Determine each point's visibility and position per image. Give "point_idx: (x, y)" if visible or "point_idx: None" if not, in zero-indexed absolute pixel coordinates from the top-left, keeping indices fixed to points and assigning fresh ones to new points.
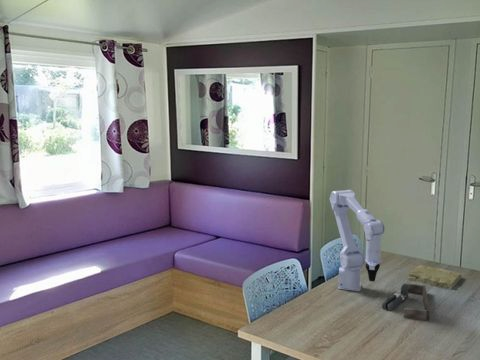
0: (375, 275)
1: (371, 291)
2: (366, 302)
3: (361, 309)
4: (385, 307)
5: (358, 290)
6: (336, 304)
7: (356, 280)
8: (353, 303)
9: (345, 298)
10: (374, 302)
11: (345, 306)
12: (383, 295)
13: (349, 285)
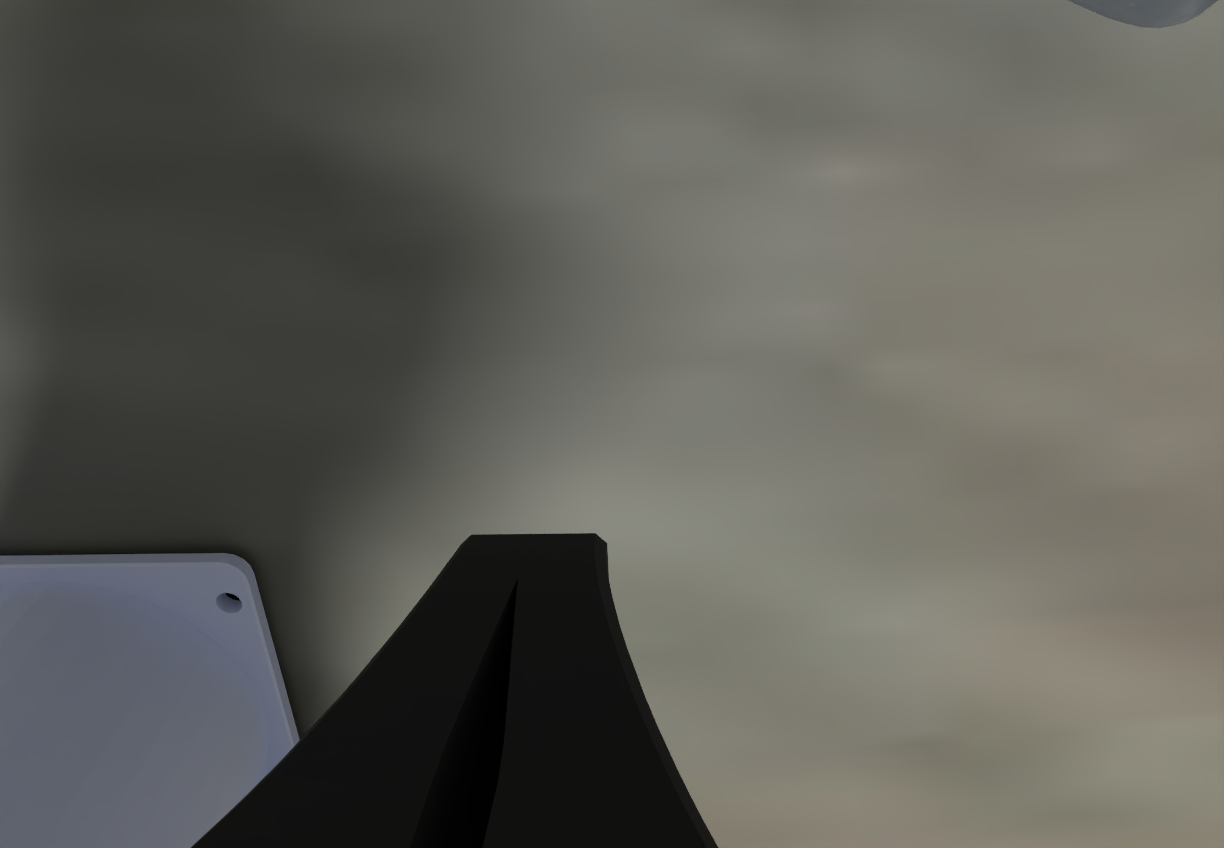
0: (662, 748)
1: (93, 331)
2: (796, 387)
3: (1203, 452)
4: None
5: (250, 586)
6: (1009, 818)
7: (110, 786)
8: (910, 603)
9: (704, 731)
10: (748, 219)
11: (1079, 703)
12: (185, 18)
13: (243, 788)
